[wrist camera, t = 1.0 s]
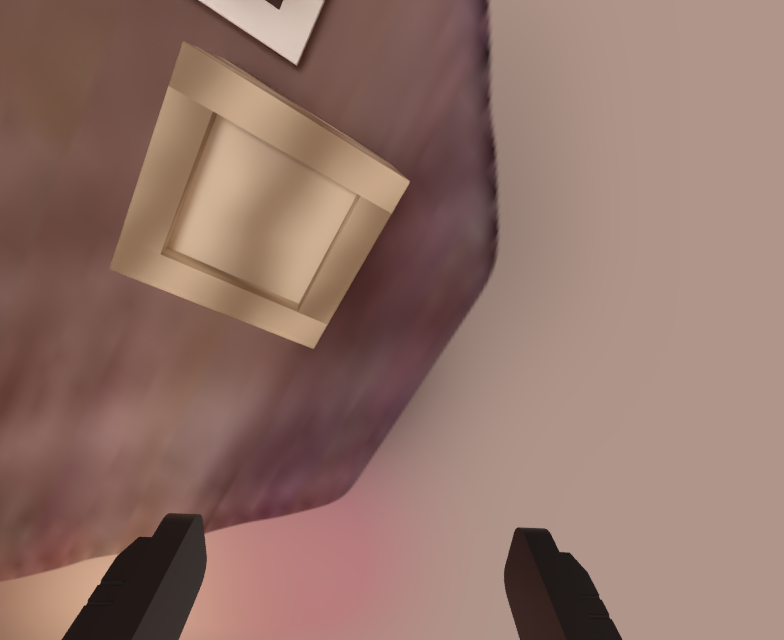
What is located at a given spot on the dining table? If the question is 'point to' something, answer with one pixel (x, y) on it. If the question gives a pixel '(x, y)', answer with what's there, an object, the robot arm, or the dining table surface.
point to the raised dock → (252, 202)
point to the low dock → (273, 22)
